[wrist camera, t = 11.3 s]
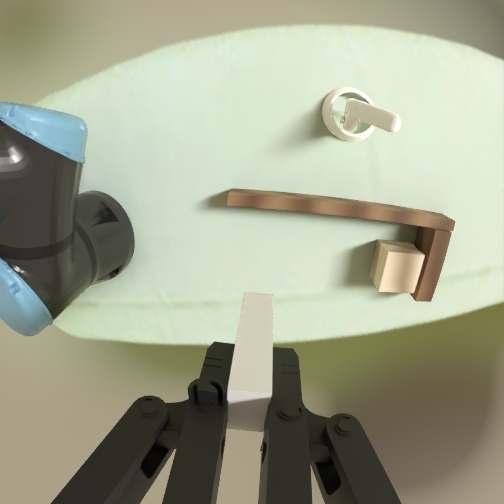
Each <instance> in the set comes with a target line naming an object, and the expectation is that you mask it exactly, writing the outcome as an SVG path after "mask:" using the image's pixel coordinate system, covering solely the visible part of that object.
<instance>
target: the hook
mask: <svg viewBox="0 0 504 504" xmlns="http://www.w3.org/2000/svg"><path fill="white" fill-rule="evenodd" d="M344 93H356V94H358V95H360V96H362V97H363V98H364V99H365V100H366V101H367V102H368V103H366V102H363V101H360V100H357V99H355V98H349V99H348V100H347V103H346V108H345V114H344V118H343V116H341V118H340V123H342V122H343V128H344V129H345V130H347V131H355V130H356V128H357V126H358V122H359V120H361V121H363V122H366V123H369V124H371V125H370V127H369V128H368V129H367V130H366V131H364V132H362V133H359V134H351V133H347V132H345V131H343V130H341V129H340V128H339V127H338V126H337V125H336V123H335V122H334V120H333V117H332V105H333V102H334V100H335V99H336V98H337V97H338V96H340V95H341V94H344ZM322 117H323V120H324V123H325V125H326V127H327V128H328V130H329V131H330V132H331V133H332V134H333V135H335V136H336V137H338V138H339V139H342V140H345V141H350V142H354V141H360V140H363V139H365V138H366V137H368V136H369V135H370V134H371V133H372V131H373V129H374V127H375V126H376V127H378V128H380V129H383V130H385V131H388V132H392V133H395V132H397V131H398V130H399V128H400V126H401V119H400V117H399V116H398V115H397V114H396V113H393V112H391V111H389V110H386V109H383V108H381V107H378V106H375V105H374V104H373V103H372V101H371V100H370V98H369V97H368V96H367V95H366V94H364V93H363V92H361V91H360V90H357V89H354V88H350V87H342V88H338V89H336V90H334V91H332V92H331V93H329V95H328V96H327V97H326V98H325V100H324V102H323V106H322Z"/></svg>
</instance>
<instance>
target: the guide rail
mask: <svg viewBox="0 0 504 504" xmlns="http://www.w3.org/2000/svg"><path fill="white" fill-rule="evenodd" d="M227 206H239V207H253V208H266V209H278V210H290V211H300V212H311V213H321V214H330V215H339V216H348V217H357V218H365V219H373V220H381V221H388V222H396V223H403V224H410V225H417V226H419V228H418V233H417V237H416V242H415V247H416V248H417V249H419V250H420V251H421V252H422V253H423V254H424V255H425V257H424V260H423V264H422V268H421V271H420V275H419V278H418V281H417V285H416V288H415V291H414V293H410V294H411V296H412V297H413V298H414V300H415V301H431V300H432V297H433V294H434V291H435V288H436V285H437V282H438V279H439V276H440V273H441V270H442V266H443V263H444V260H445V256H446V252H447V249H448V245H449V241H450V237H451V232H450V231H453V229H454V225H455V221H454V220H452V219H450V218H449V217H447V216H445V215H443V214H440V213H435V212H429V211H423V210H418V209H412V208H406V207H400V206H393V205H387V204H380V203H373V202H366V201H359V200H351V199H343V198H335V197H326V196H317V195H307V194H297V193H286V192H274V191H261V190H247V189H232V190H231V191H230V192H229V193H228V194H227ZM448 230H449V231H448Z"/></svg>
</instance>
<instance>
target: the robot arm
mask: <svg viewBox="0 0 504 504" xmlns="http://www.w3.org/2000/svg"><path fill="white" fill-rule="evenodd" d="M87 132H88V131H87V126H86V123H85V122H84V121H83V120H82V119H81V118H79V117H77V116H74V115H71V114H67V113H63V112H59V111H55V110H50V109H45V108H41V107H36V106H30V105H24V104H17V103H9V102H0V318H1V319H2V320H3V321H4V322H5V323H6V324H7V325H8V326H9V327H11V328H12V329H13V330H15V331H16V332H18V333H20V334H22V335H25V336H33V335H36V334H38V333H39V332H40V331H42V330H43V329H44V328H45V327H47V326H48V325H51V324H52V323H53V320H54V319H55V318H56V317H57V316H58V315H59V314H60V313H61V312H62V311H63V310H64V309H66V308H67V307H68V306H69V305H70V304H71V303H72V302H73V301H74V300H75V299H76V298H77V297H78V296H79V295H80V294H81V293H82V292H83V291H84V290H86V289H87V288H88V287H89V286H90V285H93V284H96V283H100V282H103V281H107V280H110V279H112V278H114V277H116V276H117V275H119V274H120V273H121V272H122V271H123V270H124V269H125V268H126V267H127V266H128V264H129V263H130V261H131V259H132V256H133V252H134V233H133V228H132V225H131V222H130V220H129V218H128V216H127V214H126V212H125V211H124V209H123V208H122V206H121V205H120V204H119V203H118V202H117V201H116V200H115V199H113V198H112V197H111V196H109V195H107V194H105V193H103V192H99V191H88V192H84V193H82V194H79V195H78V192H79V185H80V179H81V173H82V167H83V163H85V158H84V153H85V145H86V139H87ZM188 395H189V399H188V400H185V401H182V402H176V403H165V402H164V401H163V400H161V399H160V398H159V397H155V396H144V397H141V398H139V399H137V400H136V401H135V402H134V403H133V404H132V406H131V407H130V408H129V409H128V410H127V412H126V413H125V414H124V415H123V417H122V418H121V419H120V420H119V421H118V423H117V424H116V425H115V426H114V427H113V429H112V430H111V431H110V432H109V434H108V435H107V436H106V437H105V439H104V440H103V441H102V442H101V443H100V445H99V446H98V447H97V448H96V449H95V451H94V452H93V453H92V454H91V456H90V457H89V458H88V459H87V460H86V462H85V463H84V464H83V465H82V466H81V468H80V469H79V470H78V471H77V473H76V474H75V475H74V476H73V477H72V479H71V480H70V481H69V482H68V483H67V485H66V486H65V487H64V488H63V489H62V491H61V492H60V493H59V494H58V496H57V497H56V498H55V499H54V500H53V502H52V503H51V504H140V502H141V501H142V499H143V498H144V496H145V494H146V493H147V492H148V490H149V489H150V487H151V485H152V484H153V482H154V481H155V479H156V478H157V476H158V475H159V473H160V471H161V470H162V468H163V467H164V465H165V464H166V462H167V460H168V459H169V457H170V456H171V454H172V452H173V451H174V449H176V453H175V456H174V460H173V464H172V468H171V471H170V475H169V479H168V483H167V487H166V491H165V494H164V498H163V502H162V504H216V500H217V493H218V487H219V480H220V473H221V467H222V459H223V453H224V446H225V437H226V435H225V434H226V428H228V429H237V430H247V431H259V432H263V431H264V438H263V442H262V446H261V450H260V451H262V453H261V471H260V485H259V500H258V504H312V487H311V469H310V468H311V467H310V464H311V466H312V469H313V472H314V475H315V477H316V480H317V483H318V486H319V488H320V491H321V494H322V496H323V499H324V502H325V504H401V502H400V500H399V498H398V496H397V494H396V492H395V490H394V488H393V486H392V484H391V482H390V480H389V478H388V476H387V474H386V472H385V470H384V468H383V466H382V464H381V462H380V460H379V458H378V457H377V455H376V453H375V451H374V449H373V447H372V445H371V443H370V441H369V439H368V437H367V436H366V434H365V432H364V430H363V428H362V426H361V424H360V422H359V421H358V420H357V419H356V418H355V417H353V416H352V415H349V414H345V413H341V414H336V415H334V416H332V417H331V418H327V417H323V416H319V415H316V414H313V413H312V412H310V411H309V410H308V409H307V408H306V407H305V406H304V404H303V401H302V393H301V380H300V370H299V359H298V355H297V354H296V352H295V351H294V349H292V348H291V349H290V348H277V347H273V294H262V293H252V292H244V296H243V302H242V307H241V313H240V319H239V325H238V331H237V337H236V342H235V344H229V343H221V342H214V343H213V344H212V345H211V346H210V347H209V348H208V349H207V353H206V357H205V360H204V364H203V368H202V371H201V374H200V378H199V379H196V380H194V381H193V382H191V383H190V385H189V387H188Z"/></svg>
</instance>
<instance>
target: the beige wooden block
mask: <svg viewBox="0 0 504 504" xmlns="http://www.w3.org/2000/svg"><path fill="white" fill-rule="evenodd" d="M424 257H425V255H424V254H423V253H422V252H421V251H420V250H419V249H417V248H416V247H415V246H414V245H413V244H412V243H407V242H398V241H389V240H379V239H377V243H376V247H375V252H374V257H373V262H372V266H371V270H370V275H369V277H370V278H371V280H372V282H373V283H374V285H375V287H376V288H377V290H378V292H394V293H414V291H415V288H416V285H417V281H418V278H419V275H420V271H421V268H422V264H423V260H424Z"/></svg>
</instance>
